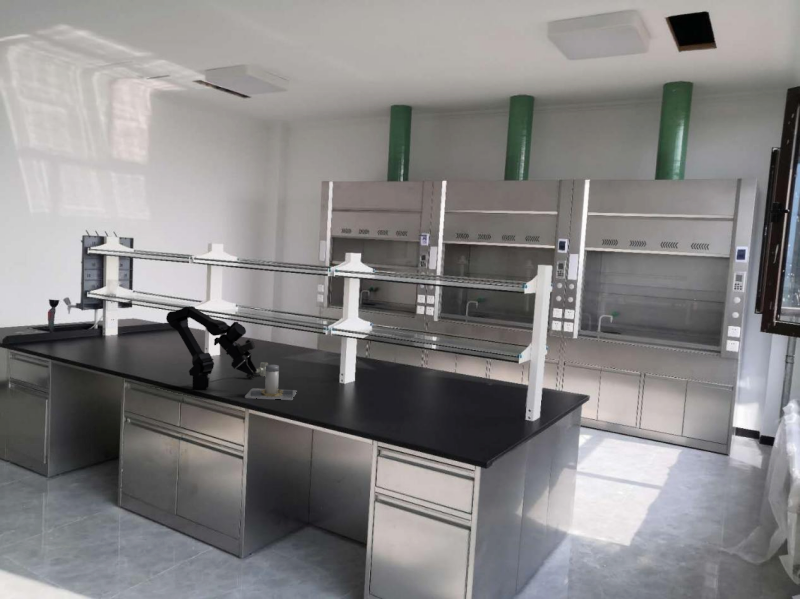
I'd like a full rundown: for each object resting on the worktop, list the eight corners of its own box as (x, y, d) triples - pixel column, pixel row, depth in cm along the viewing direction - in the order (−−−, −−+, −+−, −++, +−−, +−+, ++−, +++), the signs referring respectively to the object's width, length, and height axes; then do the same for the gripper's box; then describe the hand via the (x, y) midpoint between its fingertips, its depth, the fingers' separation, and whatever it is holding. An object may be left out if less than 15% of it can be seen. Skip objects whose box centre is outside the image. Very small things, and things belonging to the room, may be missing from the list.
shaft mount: (244, 398, 267) (245, 392, 267) (252, 390, 281) (252, 385, 281) (292, 400, 268) (292, 394, 267) (296, 392, 282) (296, 386, 281)
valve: (261, 374, 316) (244, 378, 305) (262, 361, 315) (245, 364, 305) (271, 376, 313) (255, 380, 302) (272, 363, 312) (255, 366, 302)
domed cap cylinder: (263, 394, 271) (264, 366, 270) (266, 391, 277) (267, 364, 276) (276, 394, 272) (277, 367, 270) (278, 391, 277) (279, 365, 276)
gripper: (241, 337, 264) (265, 364, 265) (247, 331, 282) (271, 357, 284) (220, 354, 263) (245, 382, 265) (229, 347, 282) (252, 373, 284)
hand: (254, 373), depth 274 cm, fingers open, 9 cm apart
